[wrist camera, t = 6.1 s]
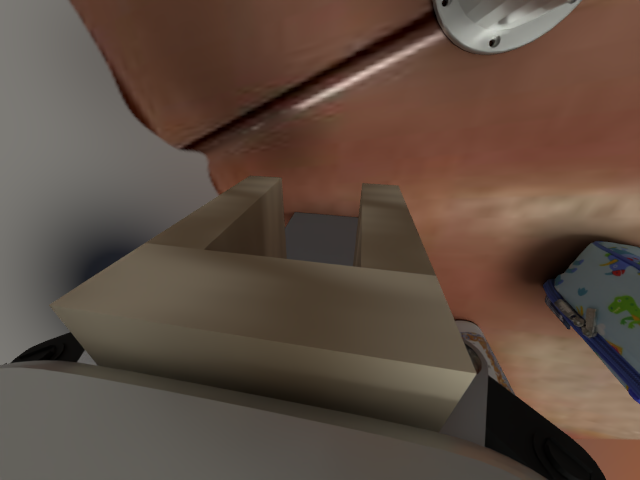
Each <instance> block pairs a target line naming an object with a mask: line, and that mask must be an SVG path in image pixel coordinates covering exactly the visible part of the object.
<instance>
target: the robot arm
mask: <svg viewBox="0 0 640 480" xmlns="http://www.w3.org/2000/svg"><path fill="white" fill-rule="evenodd" d="M442 1H443V0H433V7H434V10H435V13H436V17H437V20H438V22H439V24H440V26H441V28H442V30H443V32H444V33H445V35H446V36H447V37H448V38H449V39H450V40H451V41H452V42H453V43H454V44H455V45H457V46H458V47H460V48H461V49H463V50H465V51H468V52H471V53H475V54H484V55H492V54H498V53H505V52H507V51H510V50H514V49H517V48H519V47H521V46H524V45H526V44H528V43H530V42H532V41H534V40H536V39H537V38H539V37H541V36H542V35H544V34H545V33H547V32H548V31H550V30H551V29H552V28H554V27H555V26H556V25H557V24H558V23H559V22H561V21H562V20H563V19H564V18H565V17H567V16H568V15H569V14H570V13H571V12H572V11H573V9H574V8H575V7H576V6H577V5H578V4H579V3H580V2H581V1H582V0H446V2H447V5H446V6H445V7H443V6H442ZM490 40H492V41H493V45H492V46H491V47H490V46H489V41H490ZM462 339H463V338H462ZM463 342H464V344H465V347H466V349H467V351H468V354H469V356H470V359H471V361H472V363H473V366H474V368H475V371H476V373H477V374H476V376H475V377H474V379H473V380H472V382H471V383H470V385H469V386H468V388H467V390H466V391H465V393H464V394H463V396H462V397H461V399H460V400H459V402H458V403H457V405H456V406H455V408H454V410H453V411H452V413H451V414H450V416H449V417H448V419H447V420H446V422H445V423H444V425H443V427H442V428H441V430H440V431H439V433H438V432H434V431H430V430H426V429H421V428H416V427H412V426H407V425H403V424H398V423H393V422H389V421H384V420H380V419H375V418H370V417H365V416H360V415H355V414H350V413H345V412H340V411H335V410H330V409H325V408H320V407H315V406H310V405H305V404H300V403H295V402H290V401H284V400H279V399H274V398H269V397H264V396H259V395H253V394H248V393H243V392H238V391H233V390H227V389H222V388H217V387H212V386H207V385H201V384H196V383H191V382H186V381H180V380H175V379H169V378H164V377H159V376H153V375H148V374H143V373H137V372H132V371H127V370H121V369H115V368H109V367H103V366H98V365H97V364H96V363H95V362H94V360H93V359H92V358H91V357H90V355H89V354H88V353H87V352H86V350H85V349H84V348H83V347H82V345H81V344H80V343H79V342H78V340H77V339H76V338H75V337H74V335H73V334H72V333H71V332H70V333H67V334H64V335H62V336H59V337H56V338H53V339H50V340H48V341H45V342H43V343H40V344H38V345H36V346H33V347H31V348H29V349H28V350H26V351H25V352H23V353H22V354H21V355H19V356H18V357H17V358H15V359H14V360H13V361H12V362H11V363H9V364H7V363H6V364H3V365H0V480H606V479H605V476H604V475H603V473H602V472H601V470H600V468H599V467H598V465H597V464H596V462H595V461H594V460H593V459H592V458H591V456H590V455H589V454H588V453H587V452H586V451H585V450H584V449H583V448H582V447H581V446H580V445H579V444H577V443H576V442H575V441H574V440H573V439H572V438H571V437H569V436H568V435H567V434H565V433H564V432H563V431H561V430H560V429H559V428H557V427H556V426H555V425H553V424H552V423H551V422H550V421H548V420H547V419H546V418H544V417H543V416H542V415H540V414H539V413H538V412H536V411H535V410H534V409H532V408H531V407H530V406H528V405H527V404H526V403H525V402H523V401H522V400H521V399H519V398H518V397H517V396H515V395H514V394H513V393H511V392H510V391H509V390H507V389H506V388H505V387H504V386H502V385H501V384H500V383H498V382H497V381H496V380H494V379H493V378H492V377H490V376H489V375H488V364H487V361H486V359H485V357H484V356H483V354H482V353H481V352H480V351H479V350H478V348H476V347H475V346H474V345H473V344H472V343H470V342H469V341H467V340H465V339H463Z"/></svg>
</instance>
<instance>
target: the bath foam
mask: <svg viewBox="0 0 640 480" xmlns="http://www.w3.org/2000/svg"><path fill="white" fill-rule="evenodd" d="M455 323H456V325H457V327H458V330H459V332H460V335H461V337H462V338H463V339H465V340H467V341H469V342H470V343H472V344H473V345H474V346H475V347H476V348H478V350H479V351H480V352H481V353H482V354H483V356H484V357H485V359H486V361H487V364H488V375H489V376H490V377H492V378H493V379H494V380H496V381H497V382H498V383H500V384H501V385H502V386H504V387H505V388H506V389H507V390H509V391H510V392H511V393H513V394H514V392H513V390H512V388H511V386H510V384H509V382H508V380H507V378H506V376H505V375H504V373H503V371H502V369H501V367H500V365H499V363H498V361H497V359H496V357H495V356H494V354H493V352H492V350H491V348H490V346H489V344H488V342H487V340H486V339H485V337H484V335H483V333H482V331H481V329H480V328H479V327H478V326H477V325H475V324H473V323H471V322H468V321H455ZM514 395H515V394H514Z"/></svg>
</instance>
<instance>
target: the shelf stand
mask: <svg viewBox="0 0 640 480" xmlns="http://www.w3.org/2000/svg"><path fill="white" fill-rule="evenodd" d="M357 226H358V218H357V217H345V216H333V215H322V214H310V213H298V212H295V213H294V215H293V216H292V218H291V219H290V221H289V223H288V224H287V226H286V227H285V238H286V254H287V259H292V260H300V261H309V262H318V263H327V264H336V265H345V266H353V260H354V252H355V243H356V234H357Z"/></svg>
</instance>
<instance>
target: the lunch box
mask: <svg viewBox="0 0 640 480" xmlns="http://www.w3.org/2000/svg"><path fill="white" fill-rule="evenodd" d="M543 288H544V290H545V292H546V294H547V296H546V298H545V303H546V304H547V306H548V307H549V308H550V309H551V310H552V311H553V313H554V314H555V315H556V316H557V317H558V318H559V319H560V321H561V322H562V323H563V324H564V325H565V326H566V327H567V329H570V325H571V326H572V327H573V329H574V330H575V331H576V332H577V333H578V334H579V335H580V336H581V337H582V338H583V339H584V341H585V342H586V343H587V344H588V345H589V346H590V347H591V349H592V350H593V351H594V352H595V353H596V354H597V356H598V357H599V358H600V359H601V360H602V362H603V363H604V364H605V365H606V366H607V368H608V369H609V370H610V371H611V372H612V373H613V375H614V376H615V377H616V378H617V379H618V380H619V382H620V383H621V384H622V385H623V386H624V387H625V388H626V390H627V391H628V392H629V394H630V396H631V397H632V398H633V399H634V400H635V401H636V402H638V403H639V404H640V248H639V247H635V246H630V245H624V244H617V243H611V242H603V241H595V242H593V243H590V244H589V245H588V246H587V247H586V248H585V249H584V251H583V252H582V253H581V254H580V255H579V256H578V257H577V258H576V260H575V261H574V262H573V263H571V265H570V266H569V267H568V269H567V270H566V271H565V272H564V273H563V274H560V275H558V276H557V277H556V279H550V280H547V282H545V284H543Z"/></svg>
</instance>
